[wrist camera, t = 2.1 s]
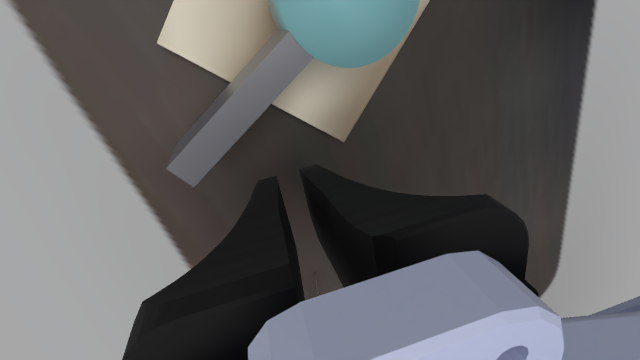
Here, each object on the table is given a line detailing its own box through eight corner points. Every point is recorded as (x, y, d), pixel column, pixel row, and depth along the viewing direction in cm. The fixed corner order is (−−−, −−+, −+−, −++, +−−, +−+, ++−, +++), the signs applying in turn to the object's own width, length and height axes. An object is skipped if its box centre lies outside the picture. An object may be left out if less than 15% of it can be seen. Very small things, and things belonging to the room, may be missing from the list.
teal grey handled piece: (330, -113, 13) (360, -152, 10) (406, -2, 15) (447, -7, 12) (138, 113, 14) (115, 136, 11) (232, 182, 16) (233, 215, 14)
